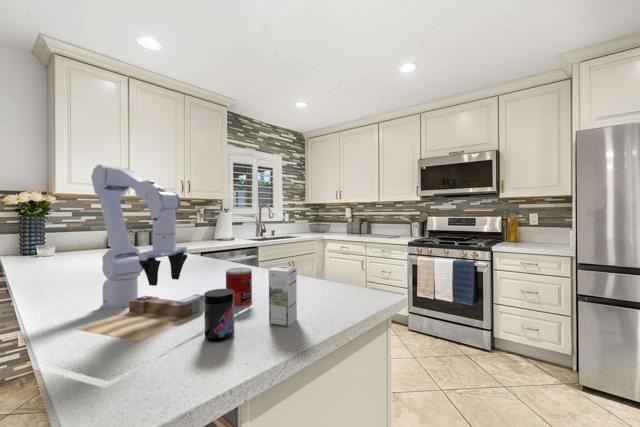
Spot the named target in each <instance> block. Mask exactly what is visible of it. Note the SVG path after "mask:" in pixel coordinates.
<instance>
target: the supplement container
mask: <svg viewBox="0 0 640 427" xmlns="http://www.w3.org/2000/svg"><path fill="white" fill-rule="evenodd" d="M203 295H204V312H203V313H204V338H205V339H206V340H207V341H208V342H211V343H219V342H225V341H227V340H230V339H231V338H232V337H233V336H234V335H235V306H234V290H232V289H226V288H217V289H210V290H208V291H206V292H204V294H203Z"/></svg>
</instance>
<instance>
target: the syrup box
mask: <svg viewBox="0 0 640 427" xmlns="http://www.w3.org/2000/svg"><path fill="white" fill-rule="evenodd" d="M297 281H298V278H297V267H296V266H286V265H285V266H284V265H281V266H280V265H276V266H273V267H271V268H270V269H268V324H269V325H273V326H281V327H287V328H288V327H290V326H292V325H293V324H294V323H295V322H297V320H298V310H297V309H298V307H297V306H298V305H297V304H298V303H297V293H298V292H297V289H298V288H297V285H298V284H297Z"/></svg>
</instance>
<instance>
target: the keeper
mask: <svg viewBox="0 0 640 427" xmlns="http://www.w3.org/2000/svg"><path fill="white" fill-rule="evenodd" d="M176 301H177V304H178V305H187V304H190V303H192V312H197V313H200V312H203V311H204V294H197V293H196V294H194V295H191V296H188V297H185V298H181V299H180V300H176ZM203 313H204V312H203Z"/></svg>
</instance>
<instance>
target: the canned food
mask: <svg viewBox="0 0 640 427" xmlns="http://www.w3.org/2000/svg"><path fill="white" fill-rule="evenodd" d="M252 276H253V275H252V268H249V267H232V268H227V269H226V270H225V289H232V290H234V307H241V306H247V305H249V304H251V303H252V302H253V293H252V292H253V289H252V288H253V279H252V278H253V277H252Z"/></svg>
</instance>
